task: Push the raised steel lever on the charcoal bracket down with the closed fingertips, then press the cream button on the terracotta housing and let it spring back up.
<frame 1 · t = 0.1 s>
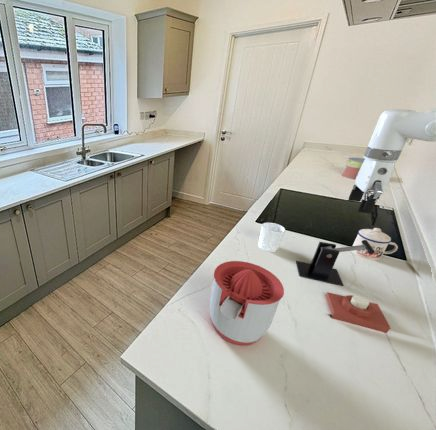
hand: (358, 206, 85), 23 cm above the worktop, tool pointing down, fingers open, 9 cm apart
lever: (345, 249, 83), point 12 cm above the worktop, hinge at 25.0°
white cup: (266, 249, 105), on the worktop
button: (359, 302, 73), point 4 cm above the worktop, slide at 0.1 cm
bracket: (317, 275, 91), on the worktop
button housing: (353, 313, 75), on the worktop
canned food: (352, 177, 180), on the worktop
citrus juicer: (233, 330, 71), on the worktop
teacup with lid: (369, 256, 100), on the worktop
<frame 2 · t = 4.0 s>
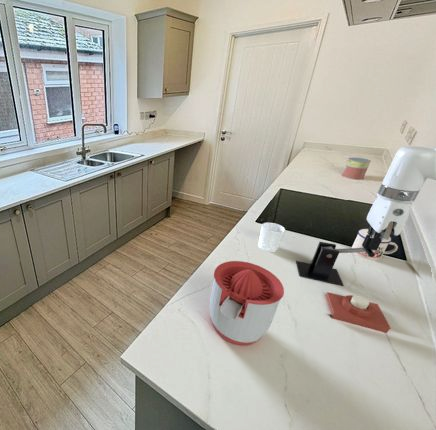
hand: (368, 247, 81), 14 cm above the worktop, tool pointing down, fingers closed
lever: (345, 250, 84), point 11 cm above the worktop, hinge at 18.2°
everything else where it was.
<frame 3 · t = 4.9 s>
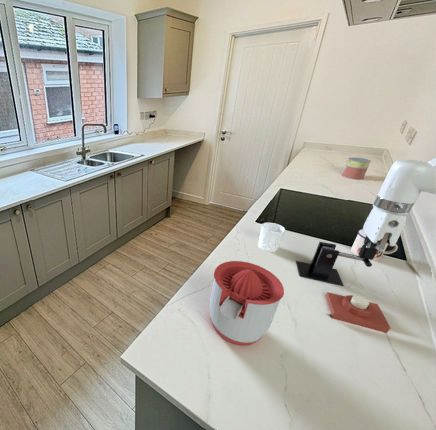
hand: (365, 257, 82), 10 cm above the worktop, tool pointing down, fingers closed
lever: (344, 255, 84), point 10 cm above the worktop, hinge at -2.2°, touching gripper
everything else where it was.
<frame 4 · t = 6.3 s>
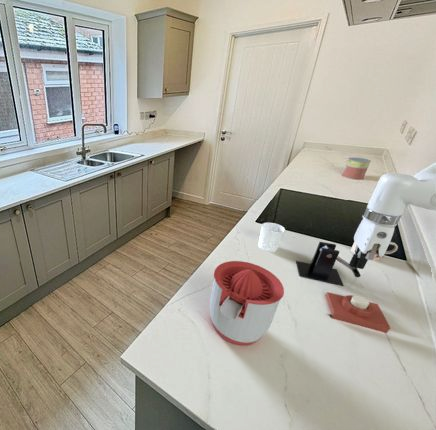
hand: (356, 266, 84), 6 cm above the worktop, tool pointing down, fingers closed
lever: (339, 259, 85), point 8 cm above the worktop, hinge at -29.4°, touching gripper
everything else where it was.
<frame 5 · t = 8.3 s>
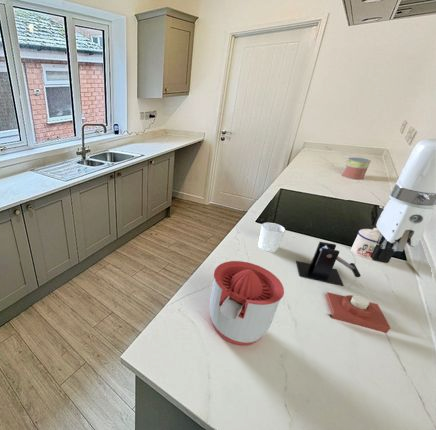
hand: (378, 259, 68), 18 cm above the worktop, tool pointing down, fingers closed
lever: (339, 259, 85), point 8 cm above the worktop, hinge at -29.4°
everything else where it was.
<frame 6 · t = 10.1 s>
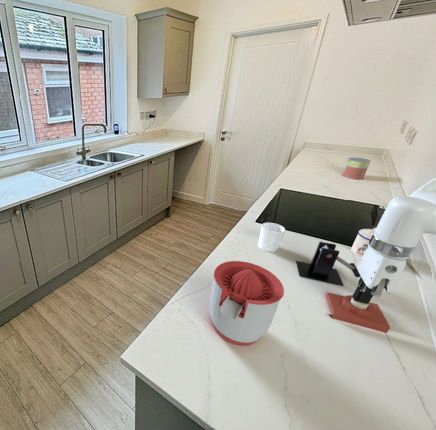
hand: (359, 300, 73), 5 cm above the worktop, tool pointing down, fingers closed
button: (359, 303, 73), point 4 cm above the worktop, slide at -0.1 cm, touching gripper
everything else where it was.
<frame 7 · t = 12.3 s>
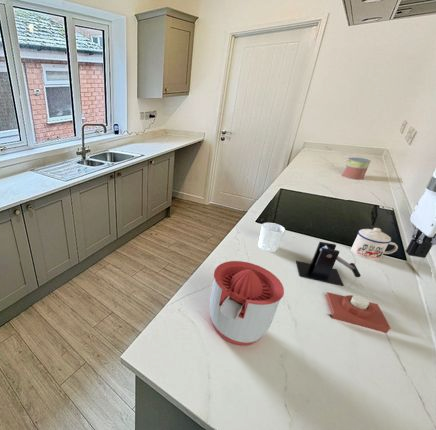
hand: (414, 254, 67), 20 cm above the worktop, tool pointing down, fingers closed
button: (359, 302, 73), point 4 cm above the worktop, slide at 0.1 cm
everything else where it was.
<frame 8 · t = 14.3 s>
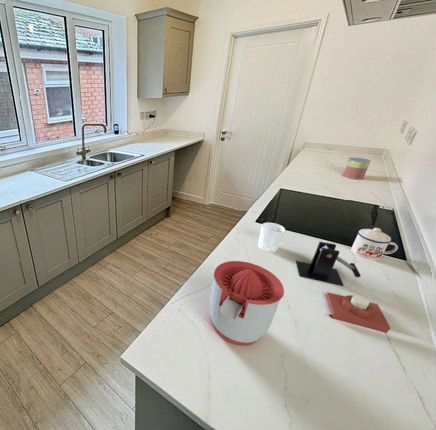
nothing on the worktop moved.
at the end: lever at -29° (first picture: +25°); button pushed in 1.1 cm at the most during the clip, back to where it started at the end; button slide at 0.1 cm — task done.
